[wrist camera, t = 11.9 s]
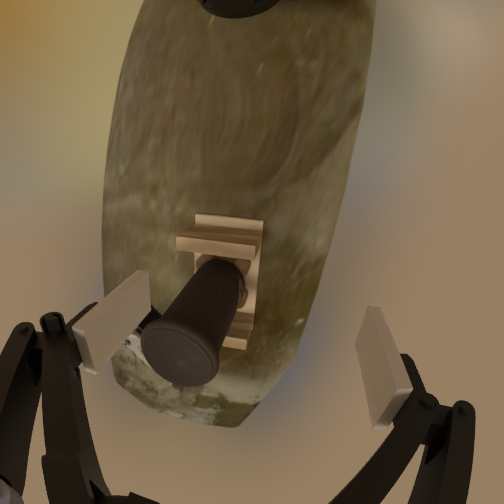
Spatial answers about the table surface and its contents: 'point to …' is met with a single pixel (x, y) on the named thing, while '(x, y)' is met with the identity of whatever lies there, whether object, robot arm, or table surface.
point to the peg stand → (235, 251)
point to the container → (195, 325)
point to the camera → (135, 336)
